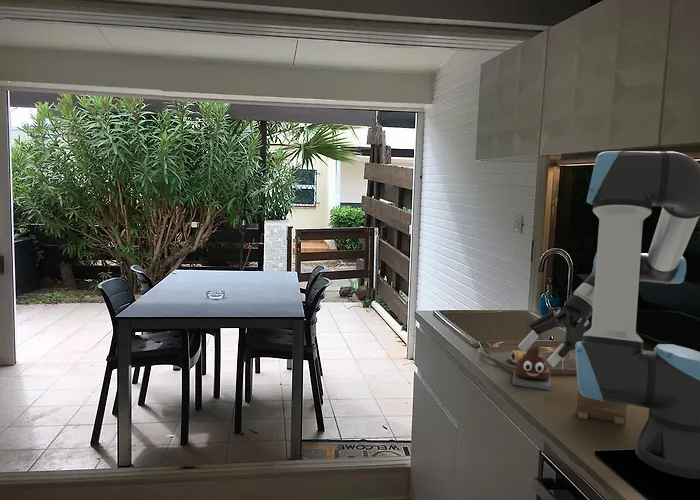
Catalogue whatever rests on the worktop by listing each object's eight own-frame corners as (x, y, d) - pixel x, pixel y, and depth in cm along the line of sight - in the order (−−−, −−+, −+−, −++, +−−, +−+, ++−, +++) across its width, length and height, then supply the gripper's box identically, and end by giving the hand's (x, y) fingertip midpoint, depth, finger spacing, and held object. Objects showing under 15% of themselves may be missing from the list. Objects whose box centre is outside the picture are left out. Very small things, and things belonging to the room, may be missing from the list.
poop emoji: (549, 374, 165) (551, 343, 164) (551, 384, 156) (554, 351, 155) (513, 370, 167) (515, 339, 166) (513, 379, 159) (516, 347, 158)
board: (550, 390, 155) (550, 385, 155) (512, 384, 158) (512, 380, 158) (549, 378, 165) (549, 374, 165) (513, 373, 168) (514, 369, 168)
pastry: (536, 359, 183) (537, 348, 182) (544, 366, 176) (545, 354, 176) (508, 359, 183) (509, 347, 182) (514, 366, 176) (515, 354, 175)
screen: (626, 425, 134) (631, 367, 132) (576, 417, 137) (581, 361, 135) (623, 417, 138) (628, 361, 137) (575, 410, 142) (579, 355, 140)
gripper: (622, 321, 153) (571, 379, 150) (562, 302, 177) (517, 351, 174) (607, 303, 151) (555, 361, 148) (549, 285, 174) (503, 335, 172)
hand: (534, 356), depth 161 cm, fingers open, 13 cm apart
